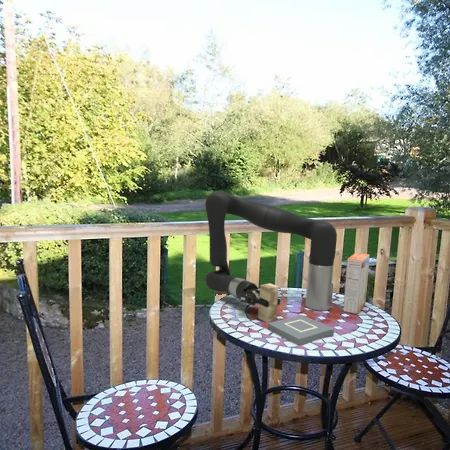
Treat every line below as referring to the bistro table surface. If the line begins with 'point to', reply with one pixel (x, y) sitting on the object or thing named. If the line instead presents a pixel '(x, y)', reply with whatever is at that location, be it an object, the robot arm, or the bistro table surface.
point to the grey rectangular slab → (300, 329)
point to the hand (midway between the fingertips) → (273, 303)
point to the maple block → (271, 295)
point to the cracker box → (356, 283)
